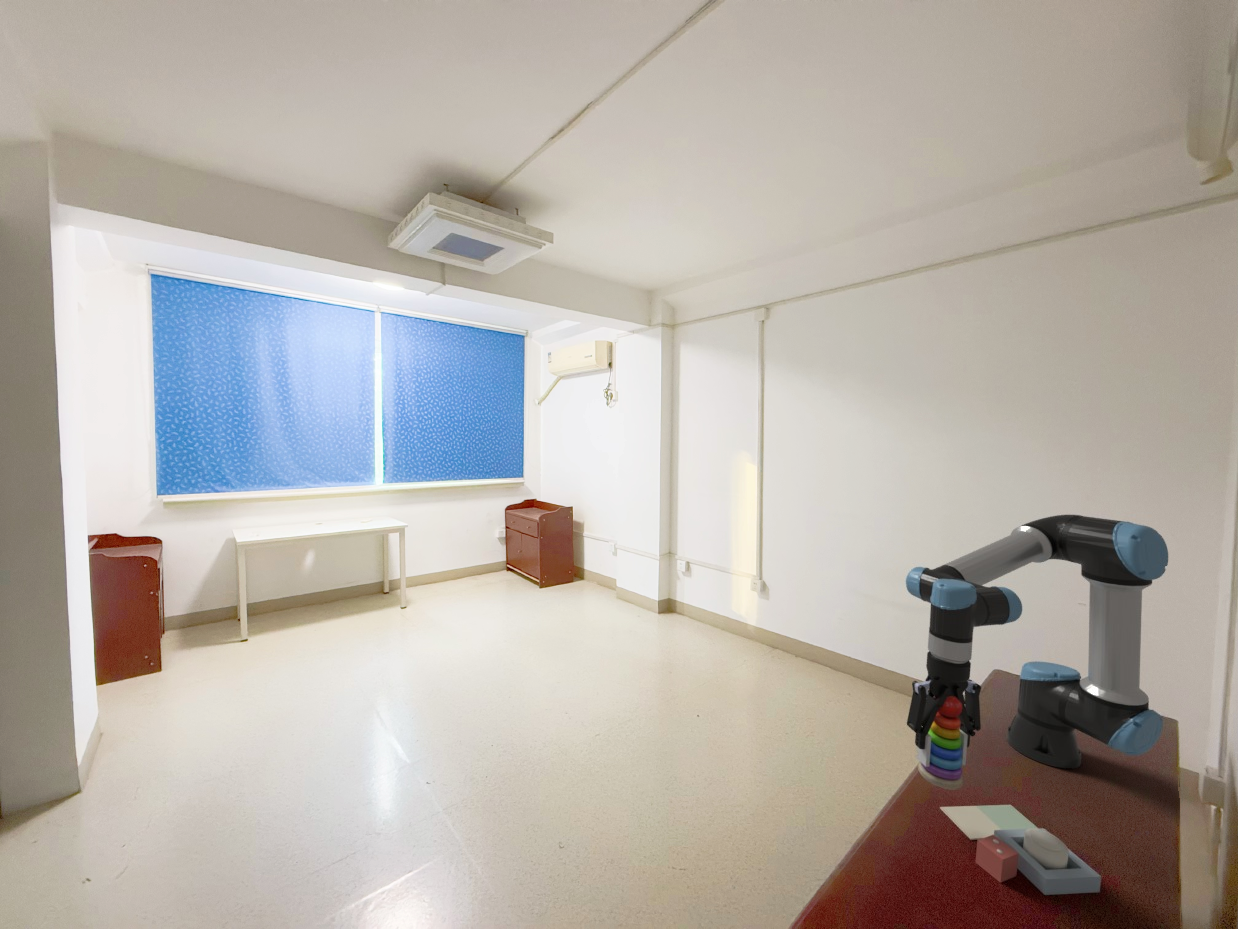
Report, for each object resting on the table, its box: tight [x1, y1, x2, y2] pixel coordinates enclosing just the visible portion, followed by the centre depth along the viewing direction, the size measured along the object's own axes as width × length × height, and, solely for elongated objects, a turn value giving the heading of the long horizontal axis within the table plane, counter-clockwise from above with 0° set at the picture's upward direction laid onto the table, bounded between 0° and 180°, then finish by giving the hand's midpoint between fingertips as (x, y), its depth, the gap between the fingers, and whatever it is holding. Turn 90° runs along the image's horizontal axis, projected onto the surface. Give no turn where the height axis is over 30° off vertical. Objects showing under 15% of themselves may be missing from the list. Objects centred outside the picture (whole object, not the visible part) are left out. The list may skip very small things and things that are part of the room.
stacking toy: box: [917, 696, 964, 791], centre depth 103 cm, size 8×8×19 cm
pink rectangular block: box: [974, 835, 1019, 883], centre depth 94 cm, size 4×4×5 cm
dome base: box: [994, 827, 1102, 896], centre depth 95 cm, size 11×11×3 cm
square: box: [939, 805, 1001, 841], centre depth 105 cm, size 8×8×1 cm
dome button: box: [1023, 828, 1069, 870], centre depth 95 cm, size 6×6×5 cm
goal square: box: [975, 804, 1039, 830], centre depth 106 cm, size 8×8×1 cm
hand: (940, 761), depth 104 cm, fingers closed on stacking toy, 7 cm apart
